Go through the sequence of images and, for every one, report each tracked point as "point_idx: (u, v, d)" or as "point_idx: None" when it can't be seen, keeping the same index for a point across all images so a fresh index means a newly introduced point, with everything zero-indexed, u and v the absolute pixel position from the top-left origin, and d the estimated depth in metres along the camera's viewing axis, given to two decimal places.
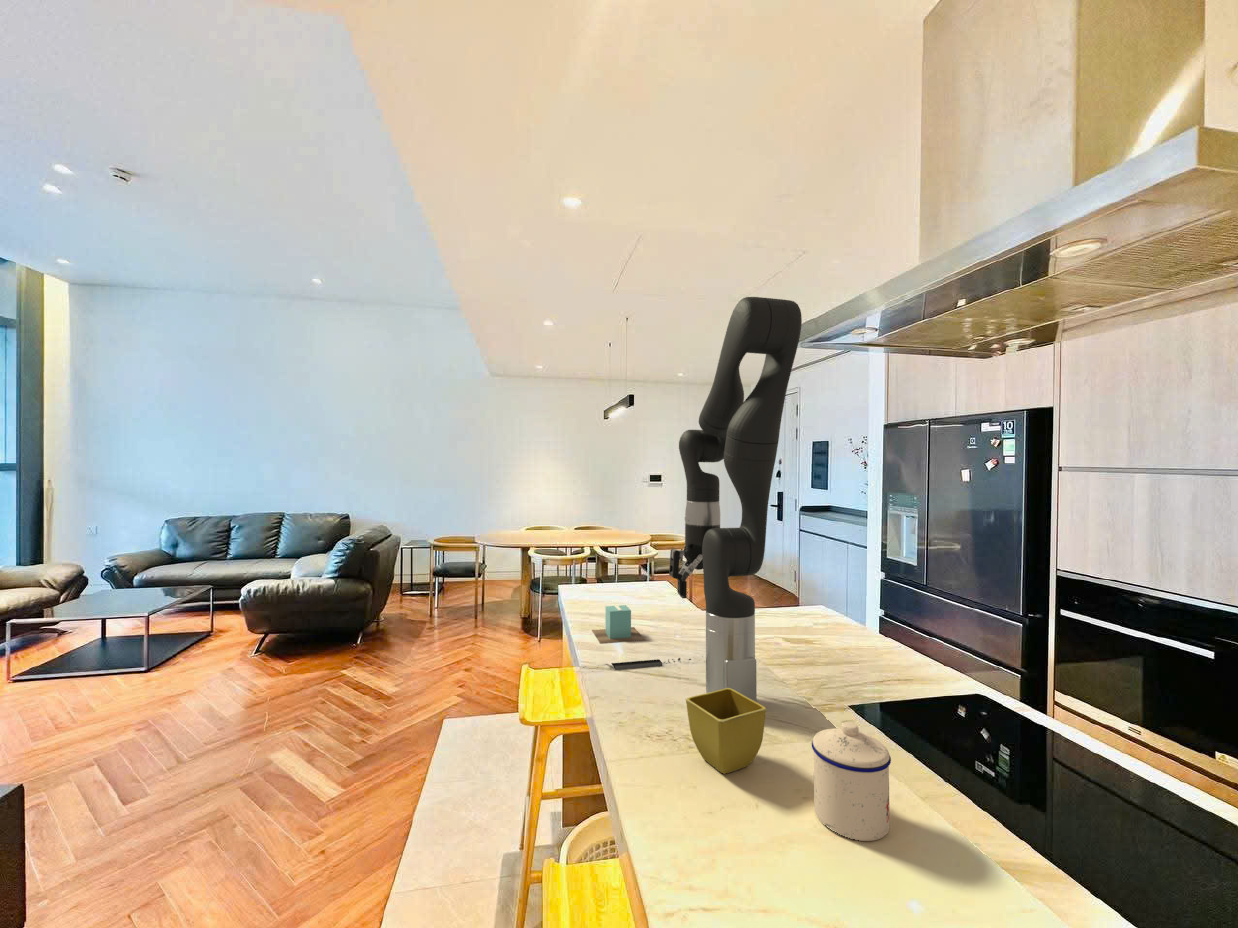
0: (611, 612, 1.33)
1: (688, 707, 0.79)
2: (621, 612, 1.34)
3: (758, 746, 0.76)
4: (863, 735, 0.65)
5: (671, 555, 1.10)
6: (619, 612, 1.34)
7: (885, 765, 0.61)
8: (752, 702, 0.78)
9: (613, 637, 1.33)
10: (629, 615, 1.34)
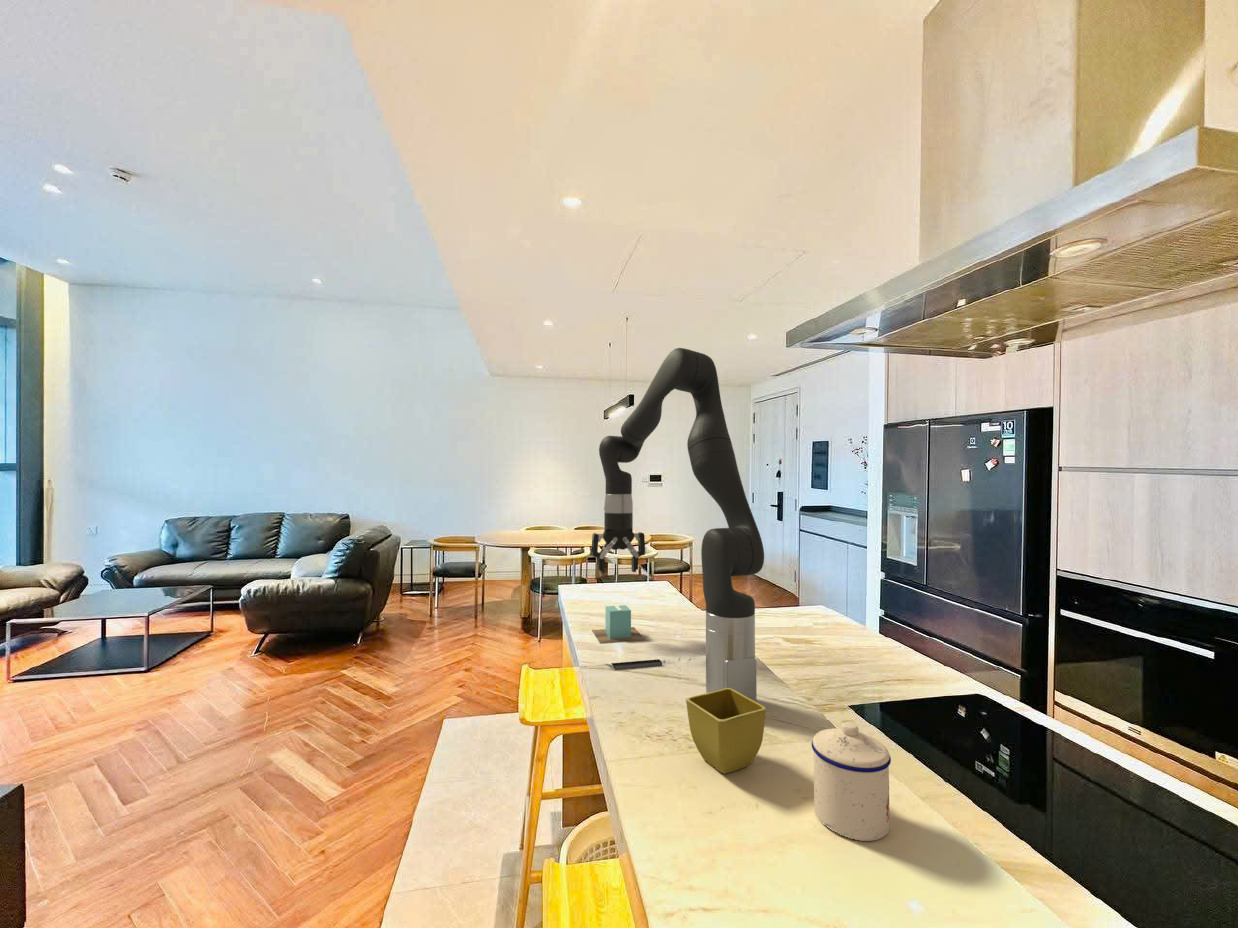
0: (611, 612, 1.33)
1: (688, 707, 0.79)
2: (621, 612, 1.34)
3: (758, 746, 0.76)
4: (863, 735, 0.65)
5: (592, 538, 1.36)
6: (619, 612, 1.34)
7: (885, 765, 0.61)
8: (752, 702, 0.78)
9: (613, 637, 1.33)
10: (629, 615, 1.34)
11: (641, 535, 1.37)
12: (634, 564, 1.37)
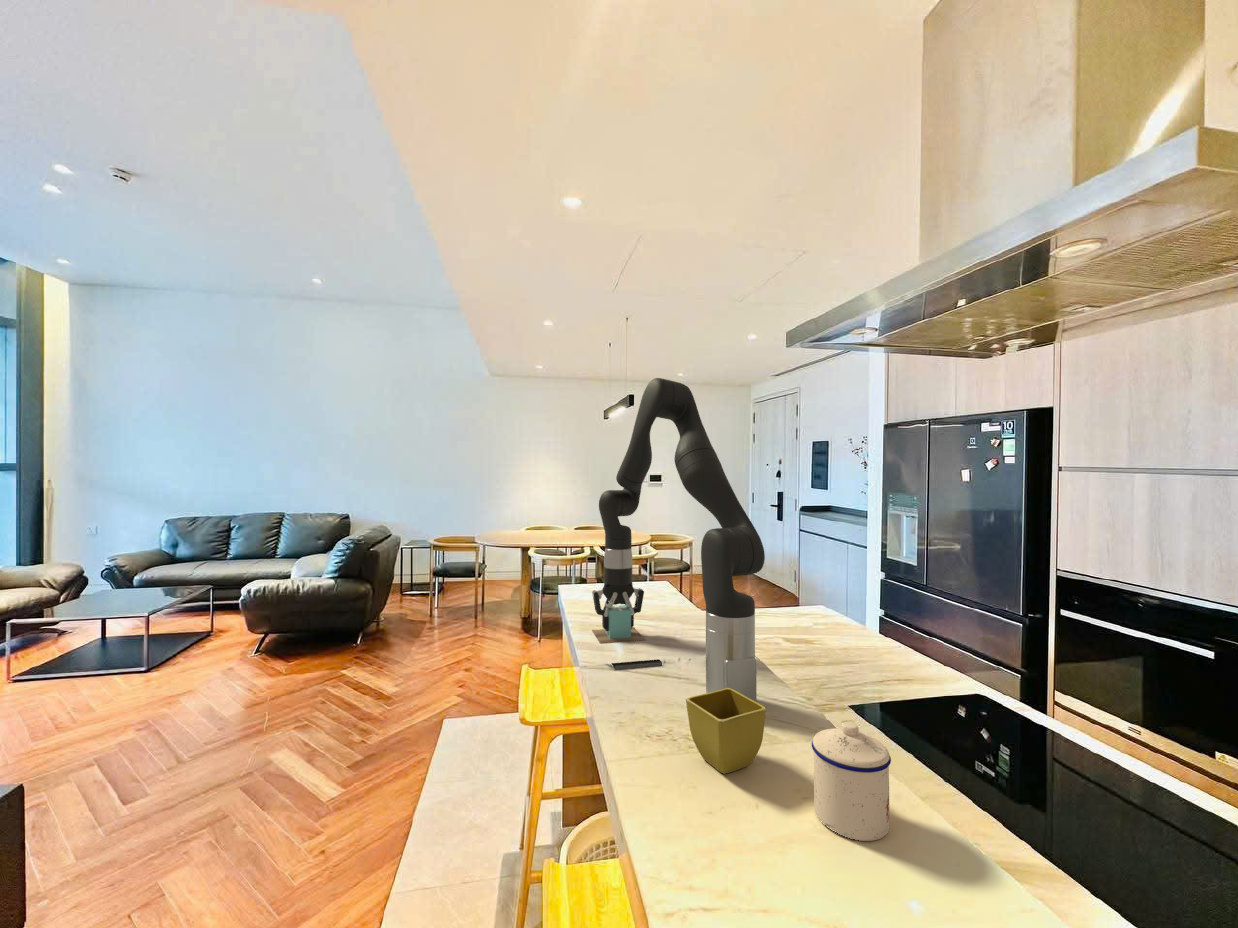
0: (611, 612, 1.33)
1: (688, 707, 0.79)
2: (621, 612, 1.34)
3: (758, 746, 0.76)
4: (863, 735, 0.65)
5: (593, 596, 1.35)
6: (619, 612, 1.34)
7: (885, 765, 0.61)
8: (752, 702, 0.78)
9: (613, 637, 1.33)
10: (629, 615, 1.34)
11: (641, 592, 1.37)
12: None
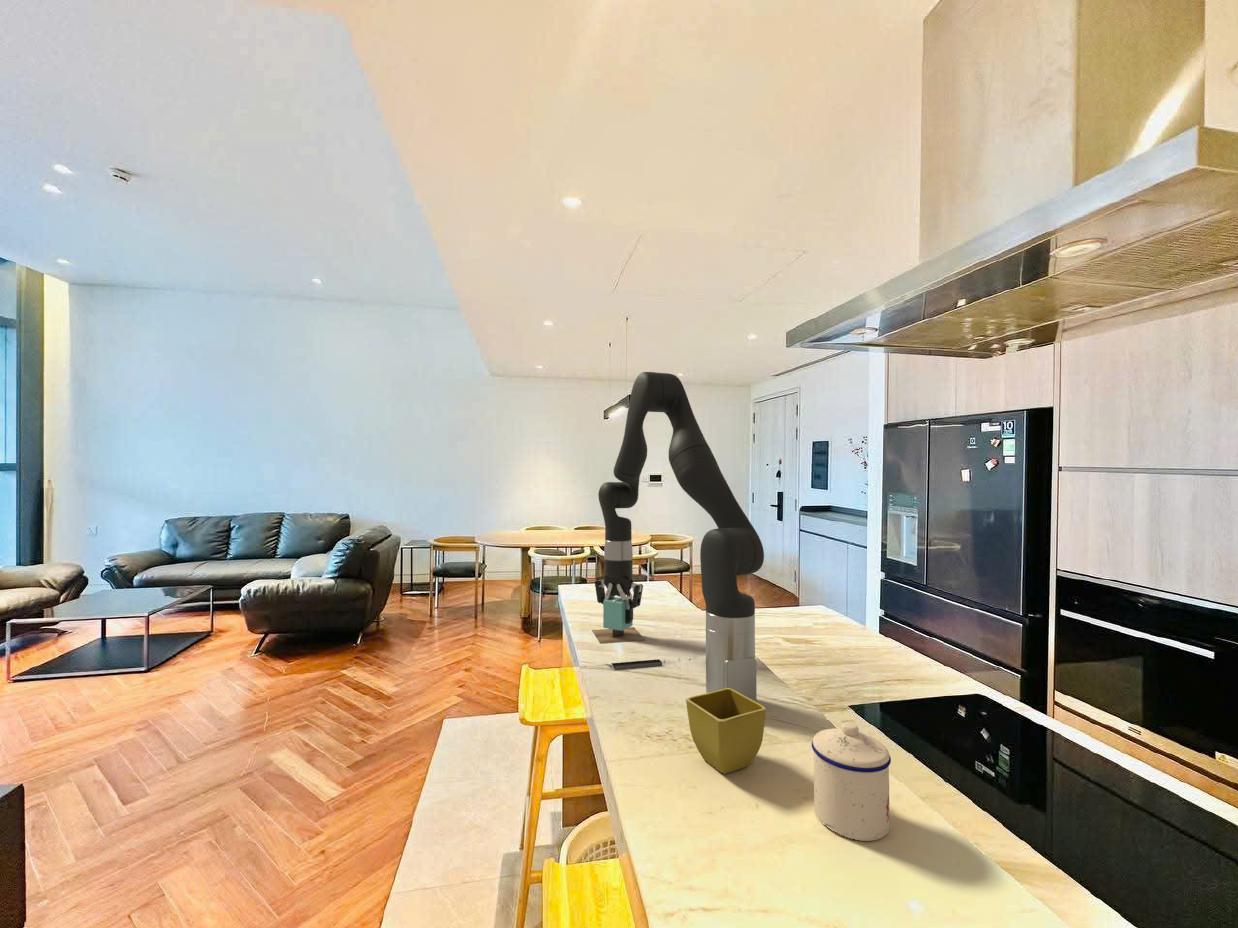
0: (604, 601, 1.35)
1: (688, 707, 0.79)
2: (613, 603, 1.34)
3: (758, 746, 0.76)
4: (863, 735, 0.65)
5: None
6: (611, 603, 1.34)
7: (885, 765, 0.61)
8: (752, 702, 0.78)
9: (606, 626, 1.35)
10: (620, 608, 1.33)
11: (635, 587, 1.32)
12: (625, 615, 1.34)
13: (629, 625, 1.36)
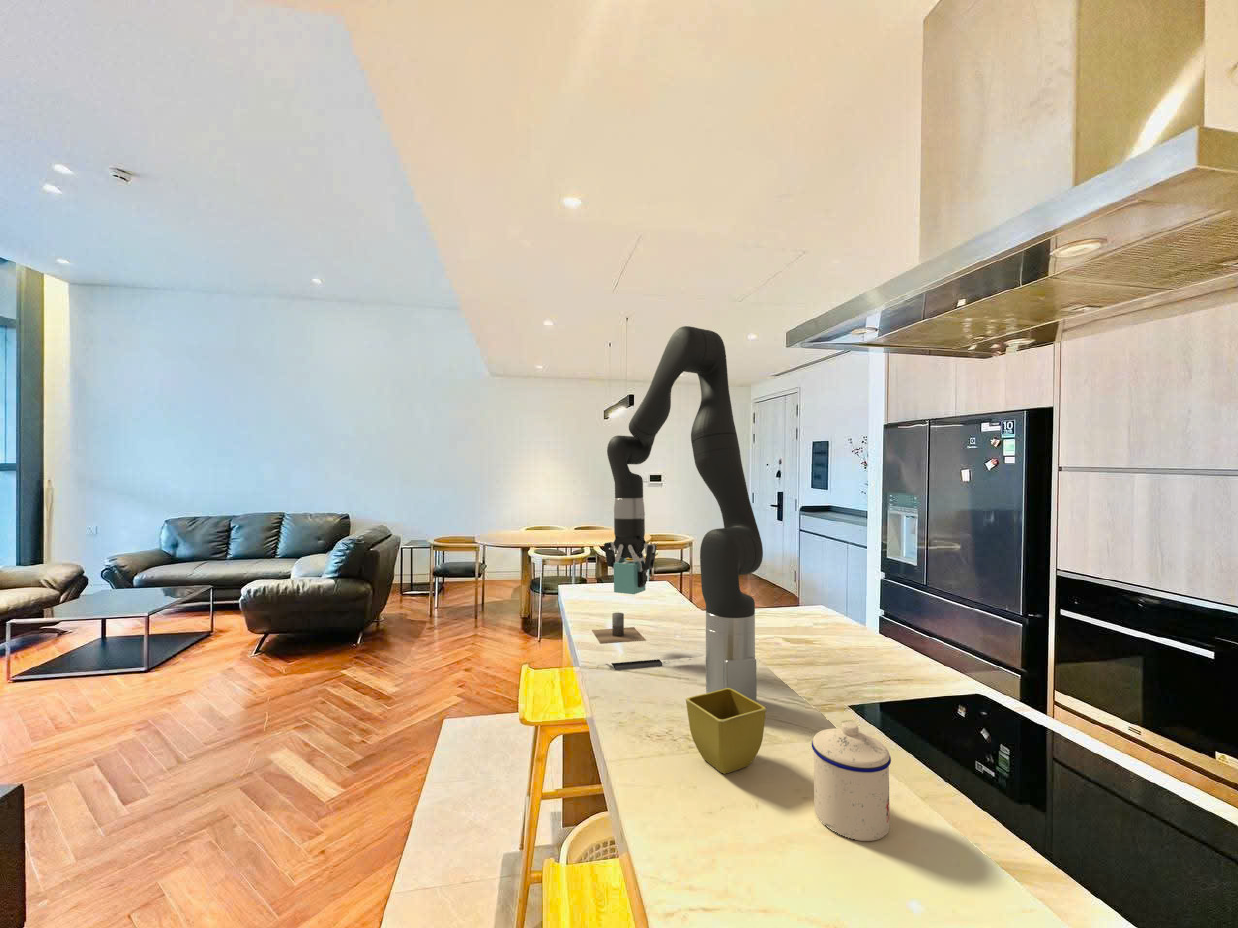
0: (615, 564, 1.25)
1: (688, 707, 0.79)
2: (624, 565, 1.24)
3: (758, 746, 0.76)
4: (863, 735, 0.65)
5: None
6: (622, 565, 1.24)
7: (885, 765, 0.61)
8: (752, 702, 0.78)
9: (616, 590, 1.25)
10: (632, 570, 1.23)
11: (648, 547, 1.22)
12: (638, 578, 1.24)
13: (642, 589, 1.25)
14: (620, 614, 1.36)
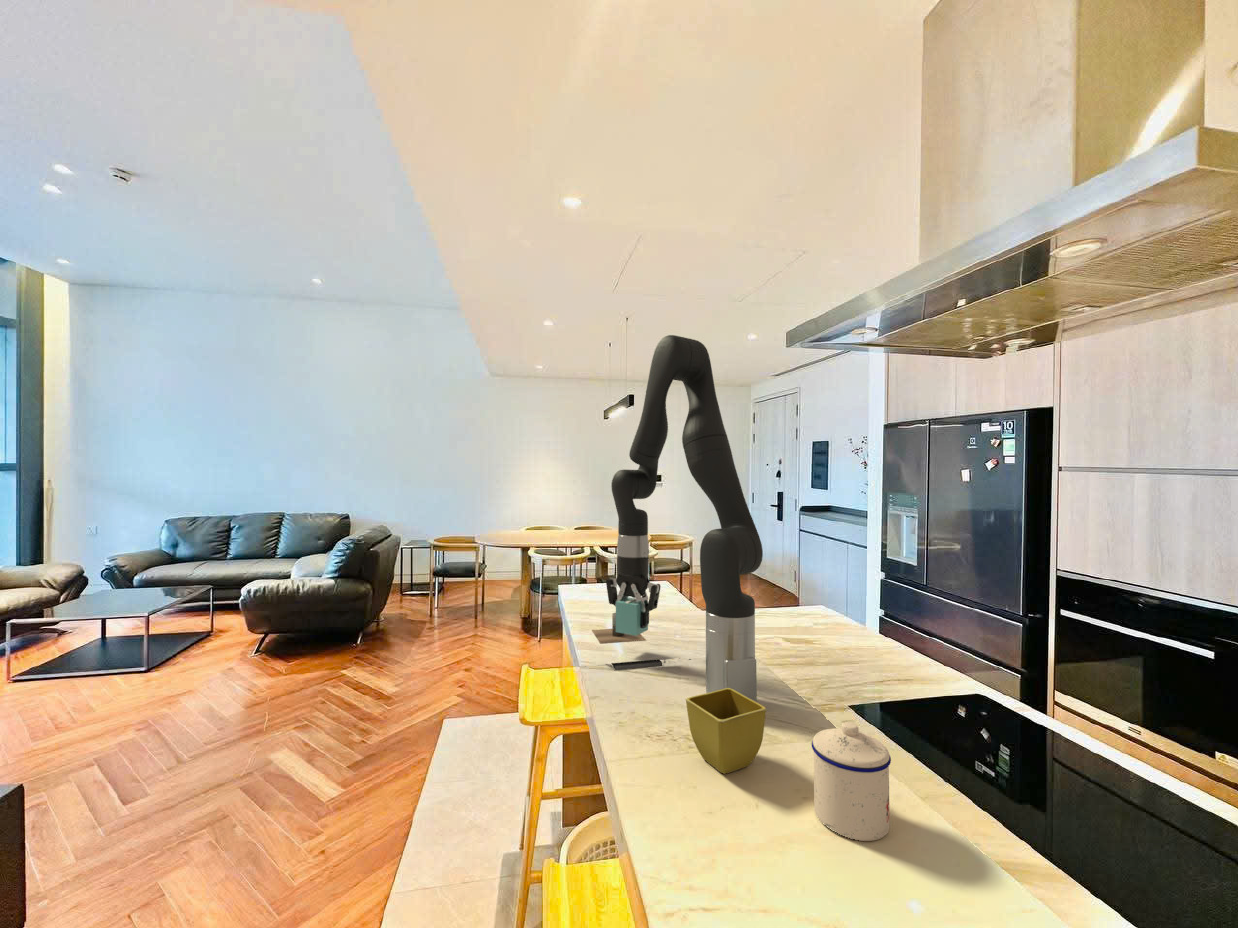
0: (617, 603, 1.21)
1: (688, 707, 0.79)
2: (626, 605, 1.19)
3: (758, 746, 0.76)
4: (863, 735, 0.65)
5: None
6: (624, 605, 1.20)
7: (885, 765, 0.61)
8: (752, 702, 0.78)
9: (618, 630, 1.21)
10: (634, 610, 1.18)
11: (652, 588, 1.18)
12: (641, 619, 1.20)
13: (644, 629, 1.21)
14: None
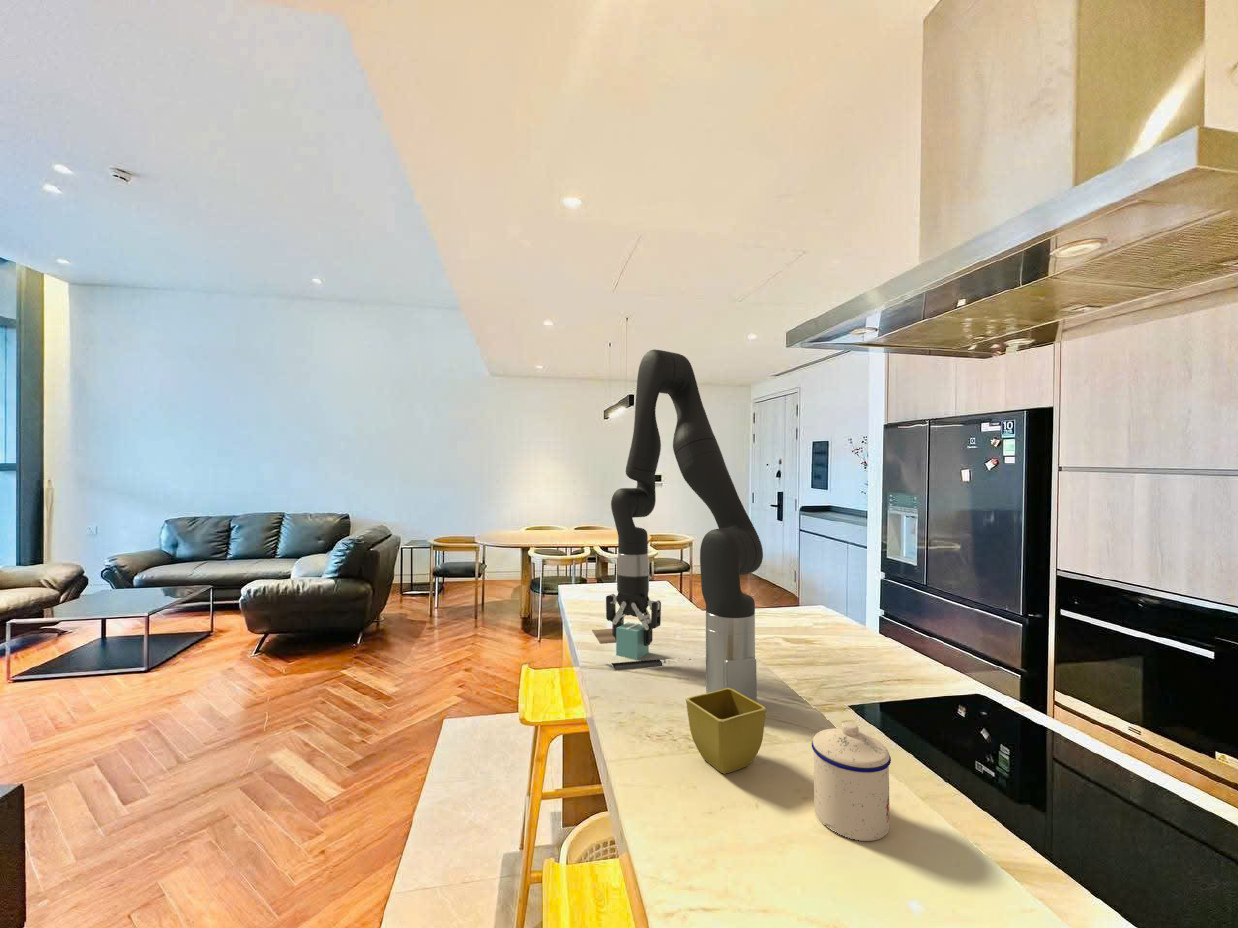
0: (617, 629, 1.21)
1: (688, 707, 0.79)
2: (627, 631, 1.19)
3: (758, 746, 0.76)
4: (863, 735, 0.65)
5: None
6: (625, 631, 1.19)
7: (885, 765, 0.61)
8: (752, 702, 0.78)
9: None
10: (635, 637, 1.18)
11: (652, 605, 1.18)
12: (644, 637, 1.19)
13: None
14: None
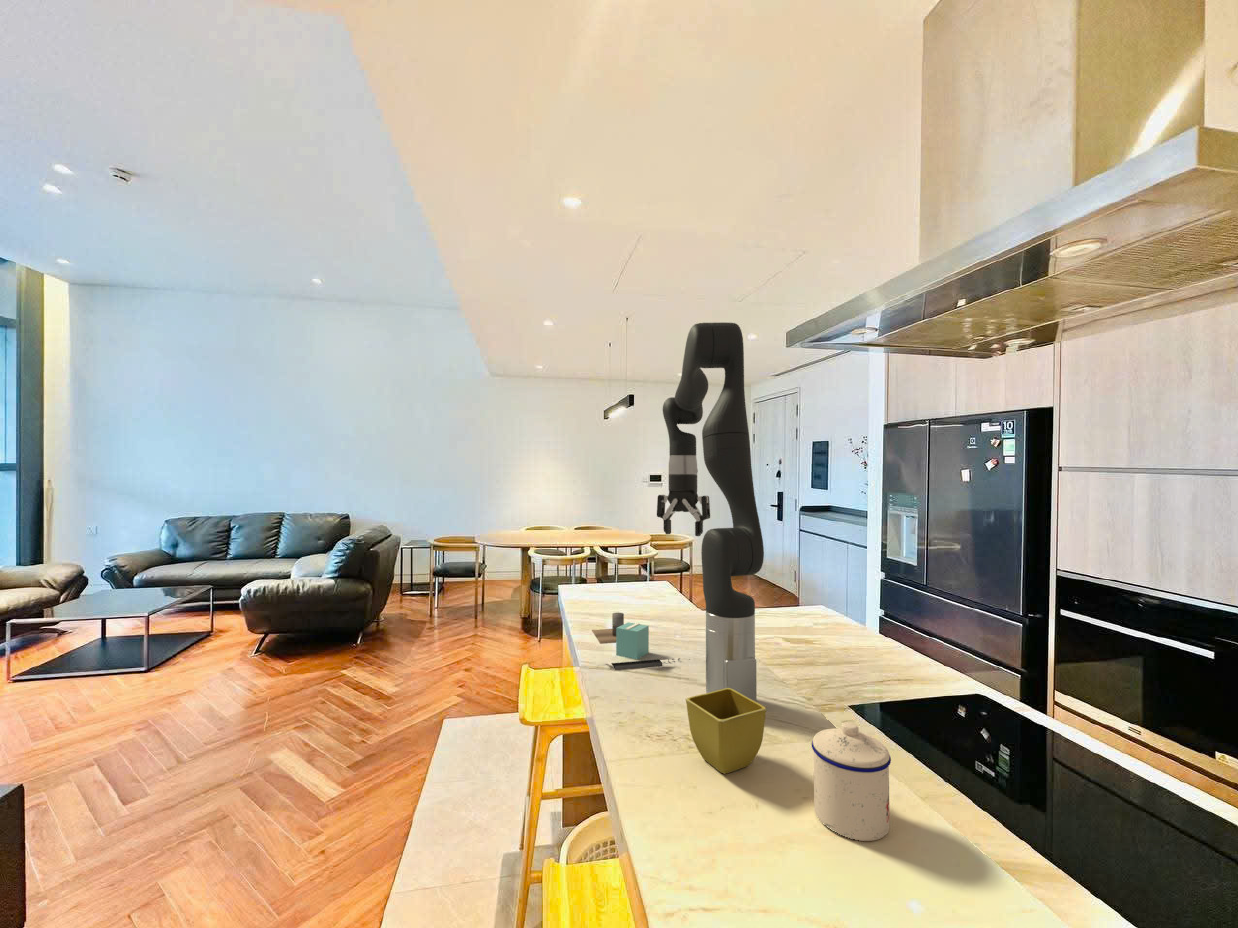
0: (617, 629, 1.21)
1: (688, 707, 0.79)
2: (627, 631, 1.19)
3: (758, 746, 0.76)
4: (863, 735, 0.65)
5: None
6: (625, 631, 1.19)
7: (885, 765, 0.61)
8: (752, 702, 0.78)
9: None
10: (635, 637, 1.18)
11: (702, 498, 1.31)
12: (696, 528, 1.32)
13: None
14: (620, 614, 1.36)
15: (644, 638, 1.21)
